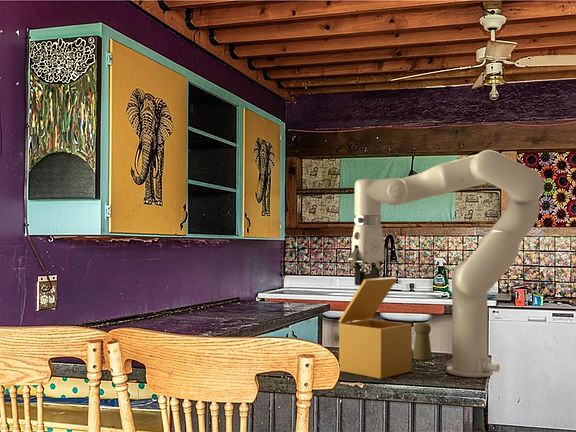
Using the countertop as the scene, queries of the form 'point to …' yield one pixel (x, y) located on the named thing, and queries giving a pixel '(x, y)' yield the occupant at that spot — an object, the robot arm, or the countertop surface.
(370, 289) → the lid
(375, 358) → the chest
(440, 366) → the countertop surface
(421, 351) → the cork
